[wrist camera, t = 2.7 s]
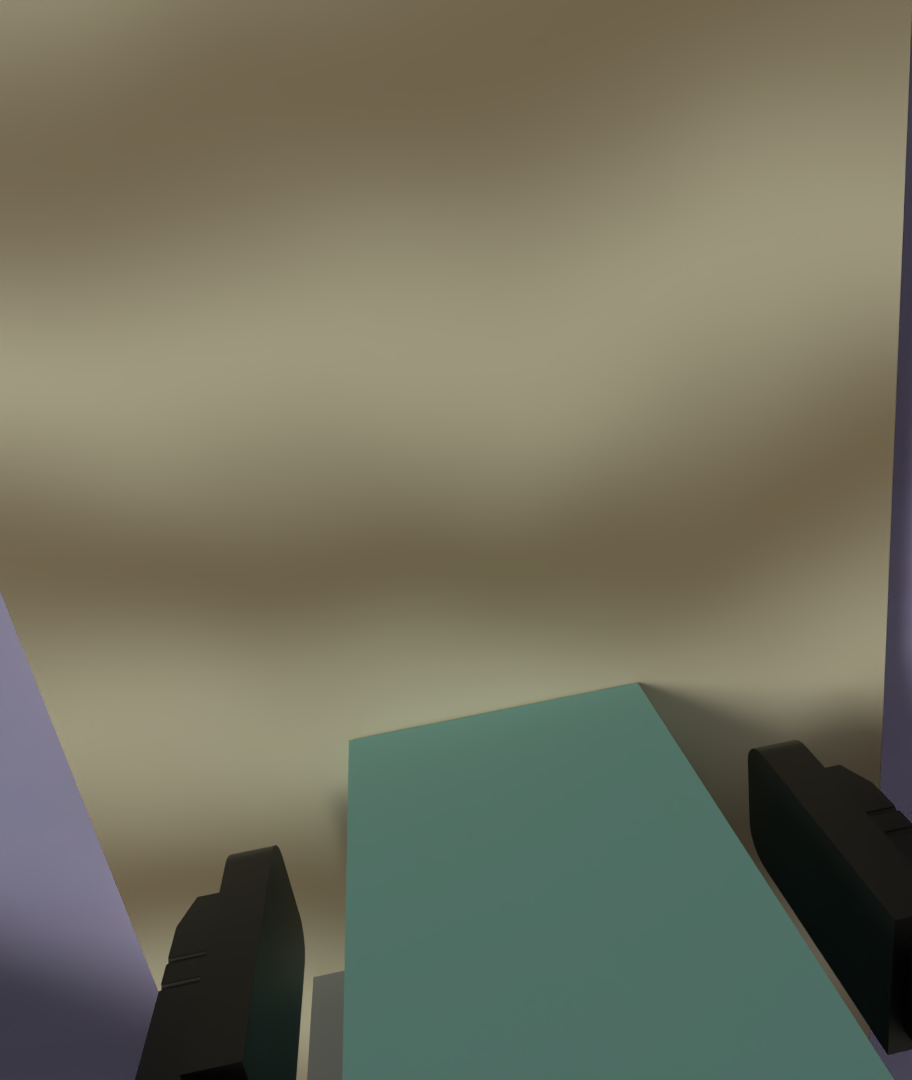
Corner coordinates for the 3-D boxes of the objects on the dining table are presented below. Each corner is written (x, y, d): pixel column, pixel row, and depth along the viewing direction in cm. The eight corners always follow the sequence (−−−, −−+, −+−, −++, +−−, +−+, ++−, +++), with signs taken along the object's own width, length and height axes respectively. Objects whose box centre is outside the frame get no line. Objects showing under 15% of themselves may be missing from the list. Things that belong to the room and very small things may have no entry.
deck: (-214, -124, 10) (-378, -232, 8) (853, -270, 11) (982, -407, 9) (382, 1485, 24) (384, 1611, 22) (825, 1374, 25) (871, 1485, 23)
